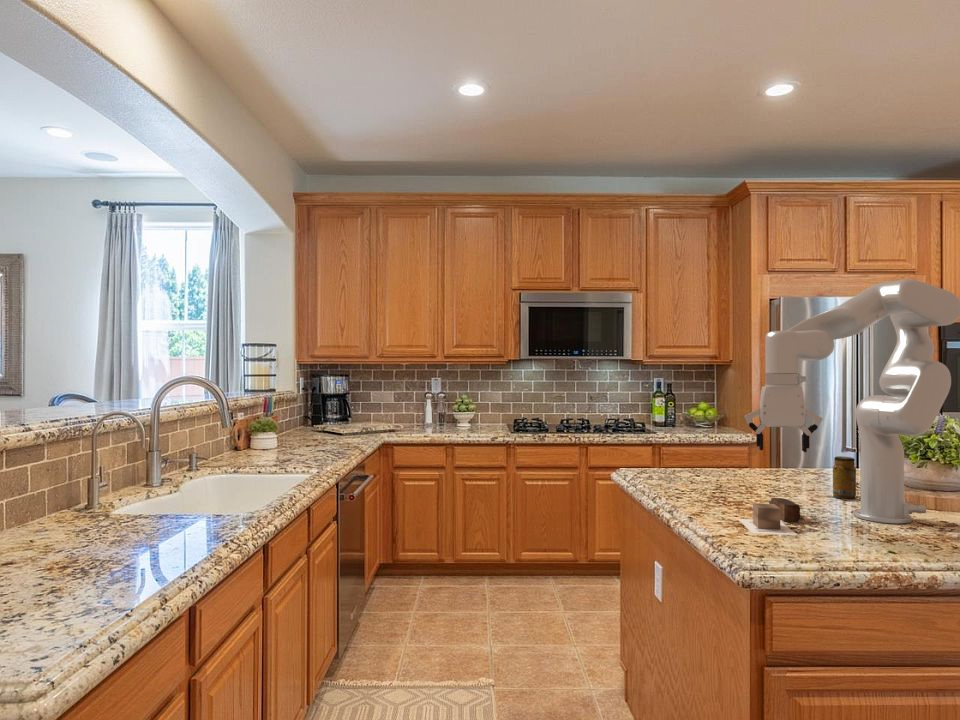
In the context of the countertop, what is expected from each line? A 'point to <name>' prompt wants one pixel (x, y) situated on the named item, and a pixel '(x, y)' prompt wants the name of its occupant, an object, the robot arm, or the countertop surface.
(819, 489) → the countertop surface
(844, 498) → the condiment
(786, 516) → the brick
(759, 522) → the walnut block
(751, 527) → the letter
